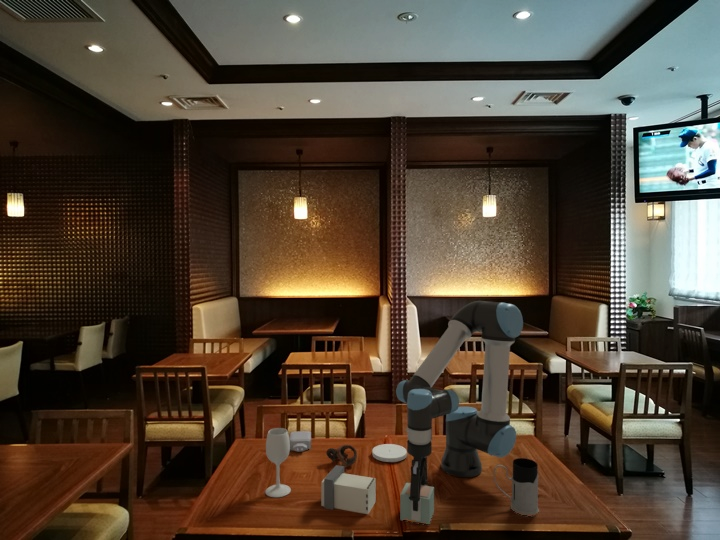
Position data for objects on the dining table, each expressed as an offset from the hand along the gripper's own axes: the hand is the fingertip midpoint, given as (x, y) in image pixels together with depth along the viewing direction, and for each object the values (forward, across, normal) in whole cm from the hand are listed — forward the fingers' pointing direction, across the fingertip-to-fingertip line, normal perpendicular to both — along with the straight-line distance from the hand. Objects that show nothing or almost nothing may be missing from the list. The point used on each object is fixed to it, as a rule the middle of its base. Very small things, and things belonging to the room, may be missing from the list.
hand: (418, 512), depth 147 cm
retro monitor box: (+1, 0, 0) cm, 1 cm away
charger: (+2, -35, -58) cm, 68 cm away
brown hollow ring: (+2, -27, -36) cm, 45 cm away
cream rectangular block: (+1, 0, -23) cm, 23 cm away
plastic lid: (+2, -40, -20) cm, 45 cm away
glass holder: (+2, -15, +29) cm, 32 cm away
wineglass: (+2, 0, -49) cm, 49 cm away
